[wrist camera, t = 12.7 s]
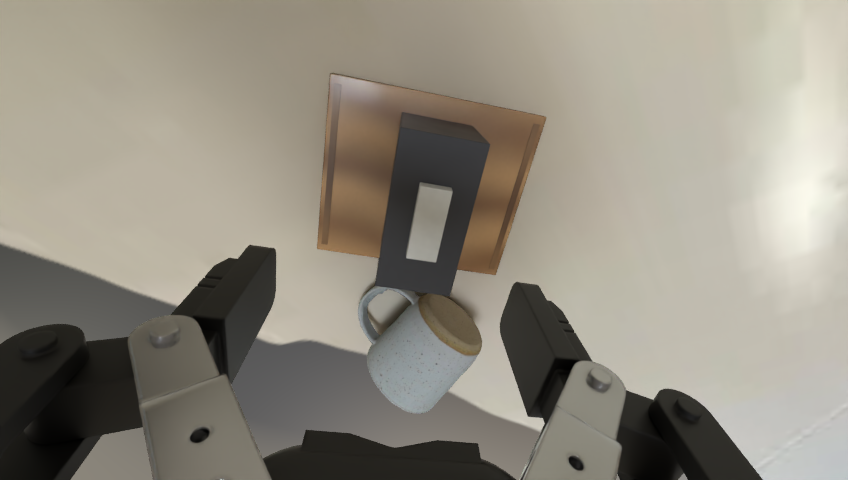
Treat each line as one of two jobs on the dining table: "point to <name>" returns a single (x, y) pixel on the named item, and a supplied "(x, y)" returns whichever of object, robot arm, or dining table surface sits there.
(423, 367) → the ceramic mug
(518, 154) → the wooden cutting board
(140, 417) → the robot arm
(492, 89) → the dining table surface
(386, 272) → the tissue box
